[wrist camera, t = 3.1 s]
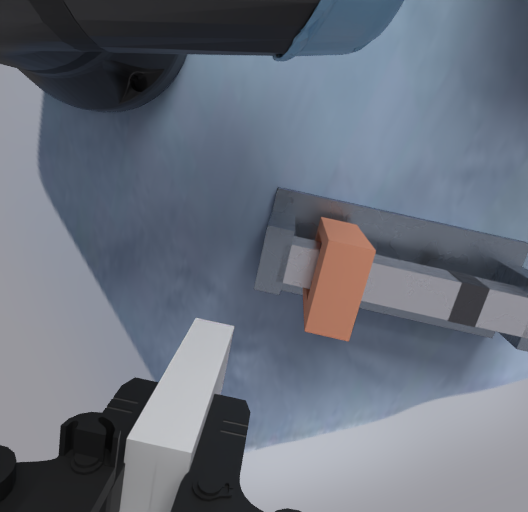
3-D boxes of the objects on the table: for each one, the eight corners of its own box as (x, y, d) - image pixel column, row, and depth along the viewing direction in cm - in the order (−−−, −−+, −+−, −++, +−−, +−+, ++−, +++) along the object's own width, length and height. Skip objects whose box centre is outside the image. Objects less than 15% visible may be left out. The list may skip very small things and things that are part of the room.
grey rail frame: (257, 281, 38) (248, 313, 31) (278, 186, 36) (273, 198, 28) (487, 333, 38) (532, 378, 31) (524, 241, 35) (583, 267, 28)
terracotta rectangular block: (302, 288, 35) (304, 331, 27) (320, 216, 33) (328, 240, 25) (336, 295, 35) (348, 341, 27) (356, 224, 33) (376, 250, 25)
